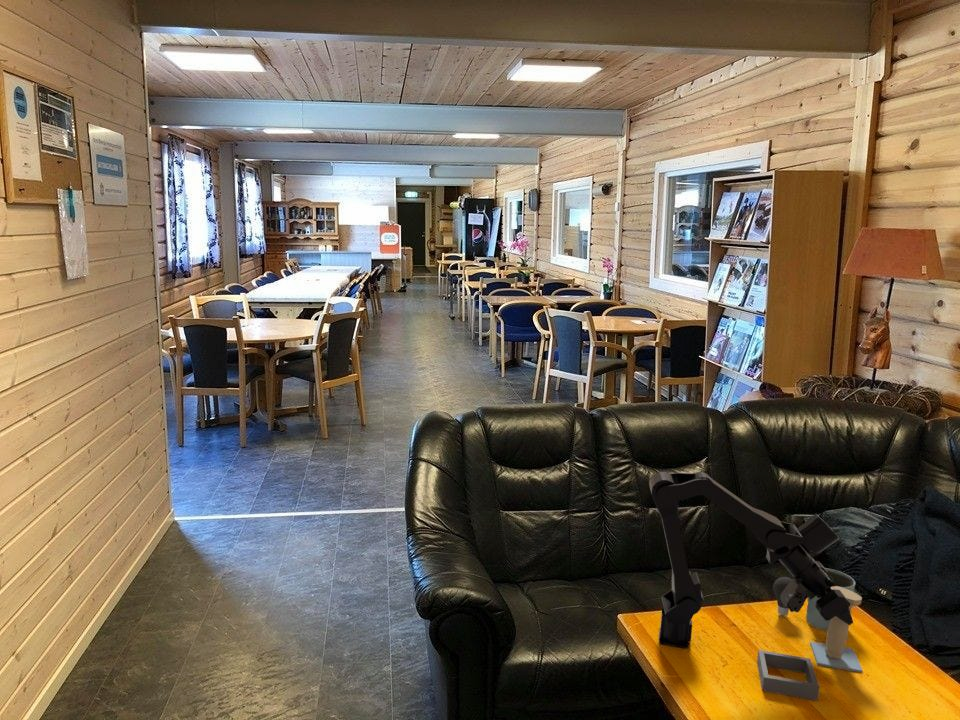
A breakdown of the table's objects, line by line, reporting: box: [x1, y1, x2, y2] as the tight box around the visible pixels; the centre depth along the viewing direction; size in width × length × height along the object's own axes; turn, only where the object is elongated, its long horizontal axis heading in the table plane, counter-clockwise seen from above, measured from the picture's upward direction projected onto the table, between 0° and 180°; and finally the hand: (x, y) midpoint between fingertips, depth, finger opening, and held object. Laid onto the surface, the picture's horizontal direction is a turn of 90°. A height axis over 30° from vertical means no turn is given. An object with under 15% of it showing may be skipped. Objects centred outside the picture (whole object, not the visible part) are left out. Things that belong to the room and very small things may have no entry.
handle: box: [825, 586, 863, 659], centre depth 160 cm, size 5×6×15 cm
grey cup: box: [805, 567, 857, 632], centre depth 176 cm, size 10×10×12 cm
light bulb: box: [772, 576, 793, 618], centre depth 178 cm, size 6×6×10 cm
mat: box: [809, 641, 864, 674], centre depth 162 cm, size 9×9×1 cm
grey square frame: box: [756, 649, 820, 701], centre depth 152 cm, size 10×10×3 cm
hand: (846, 617), depth 160 cm, fingers open, 5 cm apart
